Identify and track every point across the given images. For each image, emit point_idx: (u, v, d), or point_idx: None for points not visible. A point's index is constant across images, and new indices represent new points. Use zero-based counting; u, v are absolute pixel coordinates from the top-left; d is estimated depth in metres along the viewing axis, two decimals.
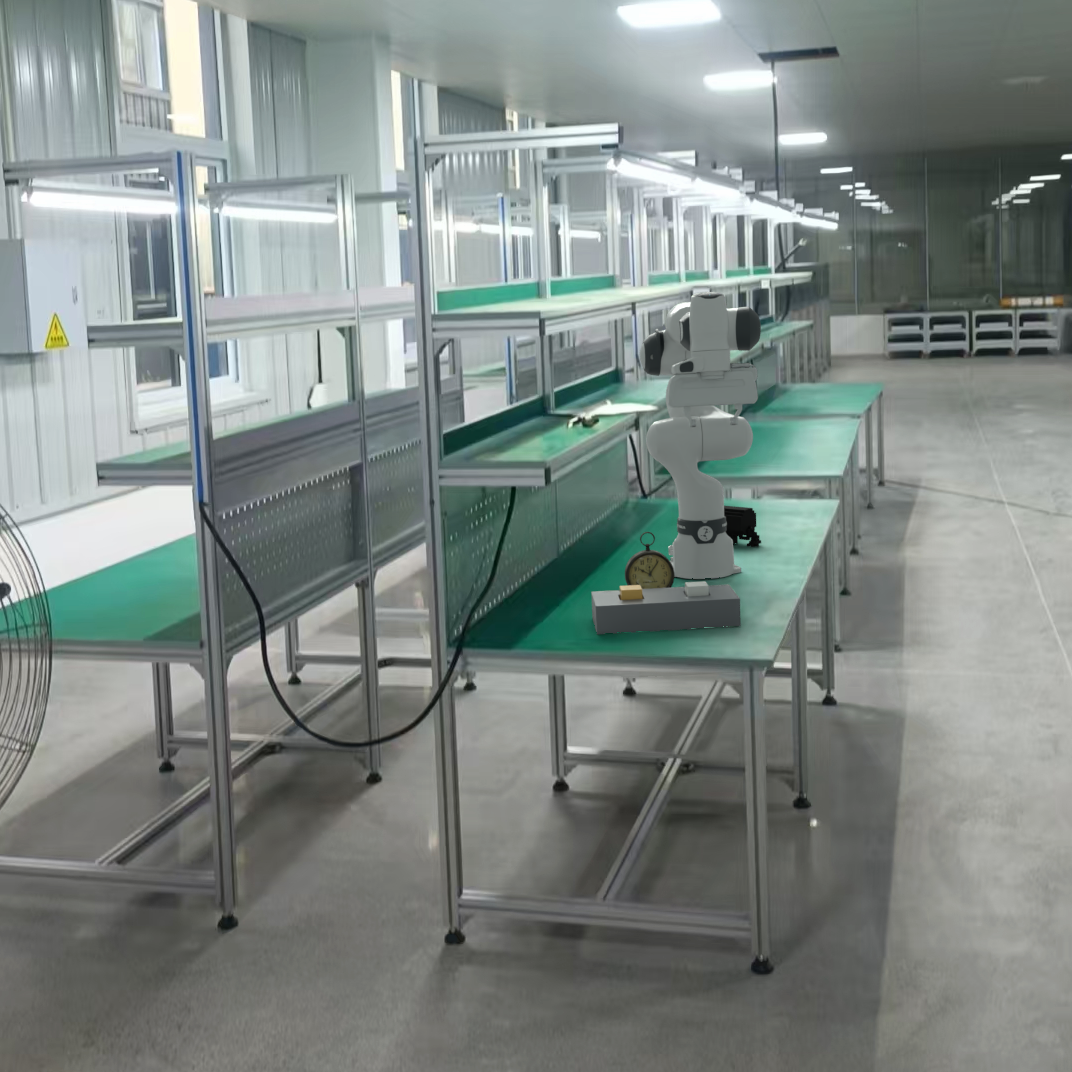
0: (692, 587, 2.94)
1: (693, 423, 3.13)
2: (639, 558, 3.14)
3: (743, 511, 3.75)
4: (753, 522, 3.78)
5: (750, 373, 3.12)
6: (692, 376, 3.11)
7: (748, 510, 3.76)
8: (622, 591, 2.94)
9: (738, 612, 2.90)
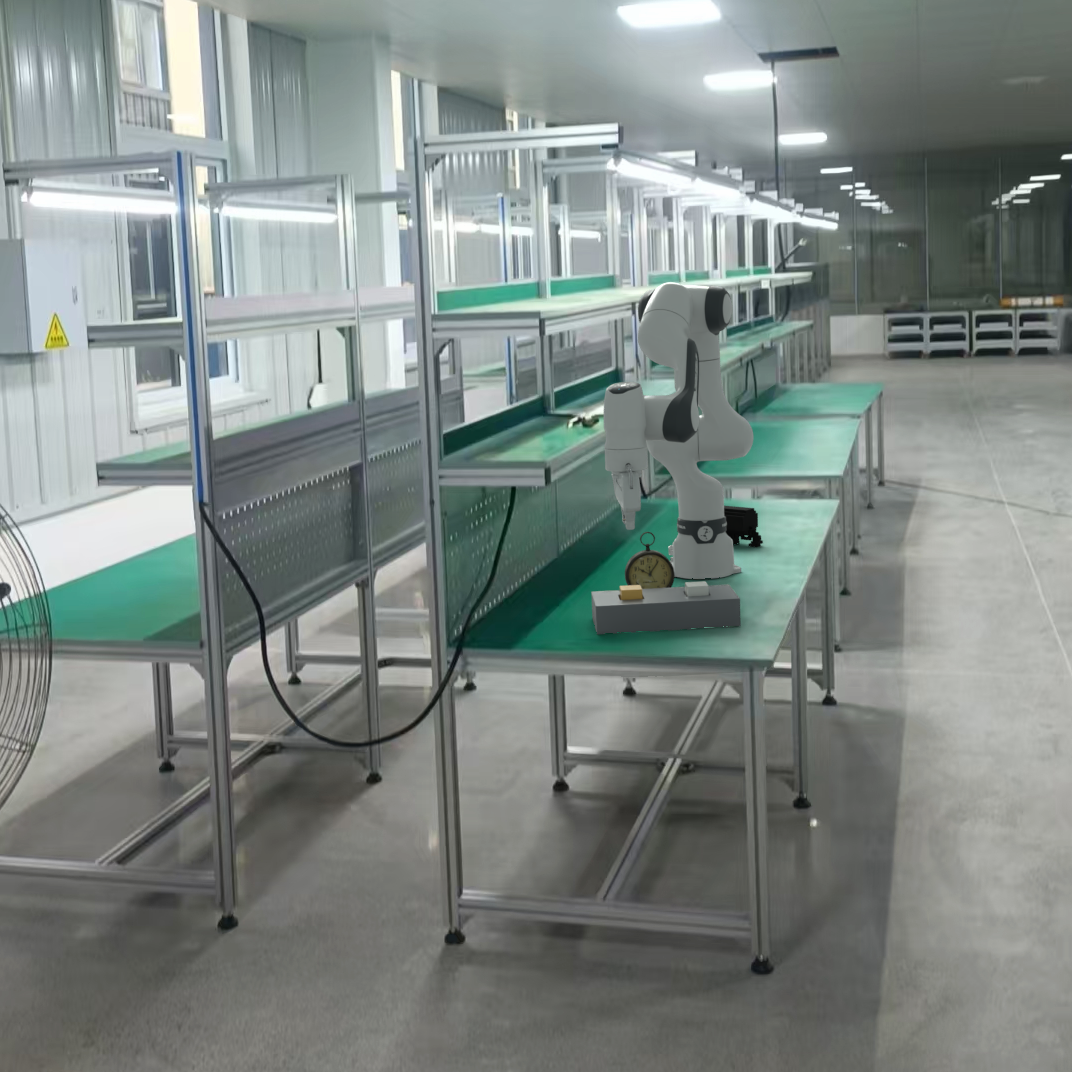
0: (692, 587, 2.94)
1: None
2: (639, 558, 3.14)
3: (745, 511, 3.74)
4: (754, 522, 3.78)
5: (622, 479, 2.83)
6: (611, 471, 2.96)
7: (750, 510, 3.75)
8: (622, 591, 2.94)
9: (738, 612, 2.90)
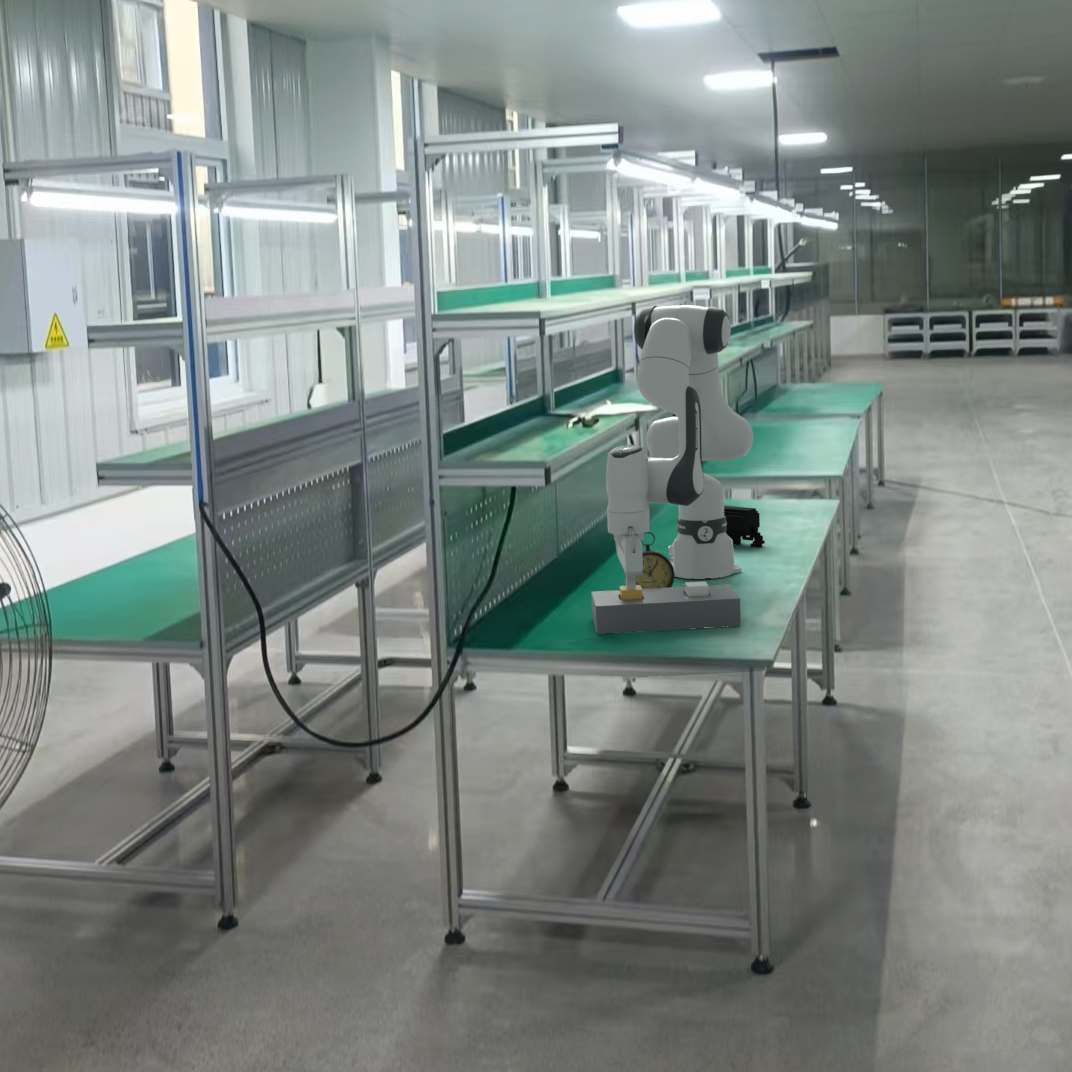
0: (692, 587, 2.94)
1: (626, 583, 2.96)
2: None
3: (746, 511, 3.74)
4: (756, 522, 3.77)
5: (624, 542, 2.86)
6: None
7: (751, 510, 3.75)
8: (622, 591, 2.94)
9: (738, 612, 2.90)
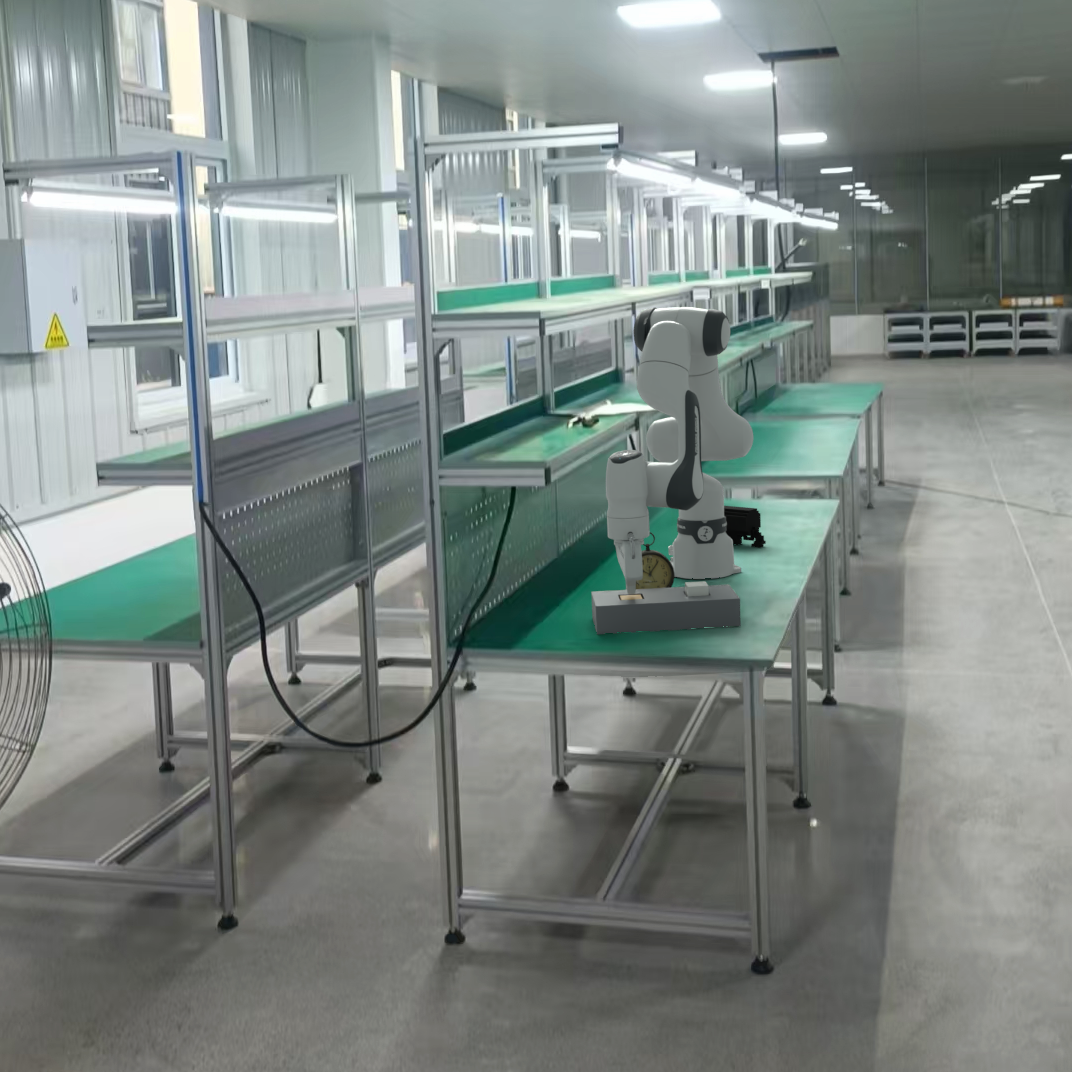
0: (692, 587, 2.94)
1: (626, 588, 2.97)
2: None
3: (747, 511, 3.74)
4: (757, 522, 3.77)
5: (624, 548, 2.86)
6: None
7: (752, 510, 3.75)
8: None
9: (738, 612, 2.90)
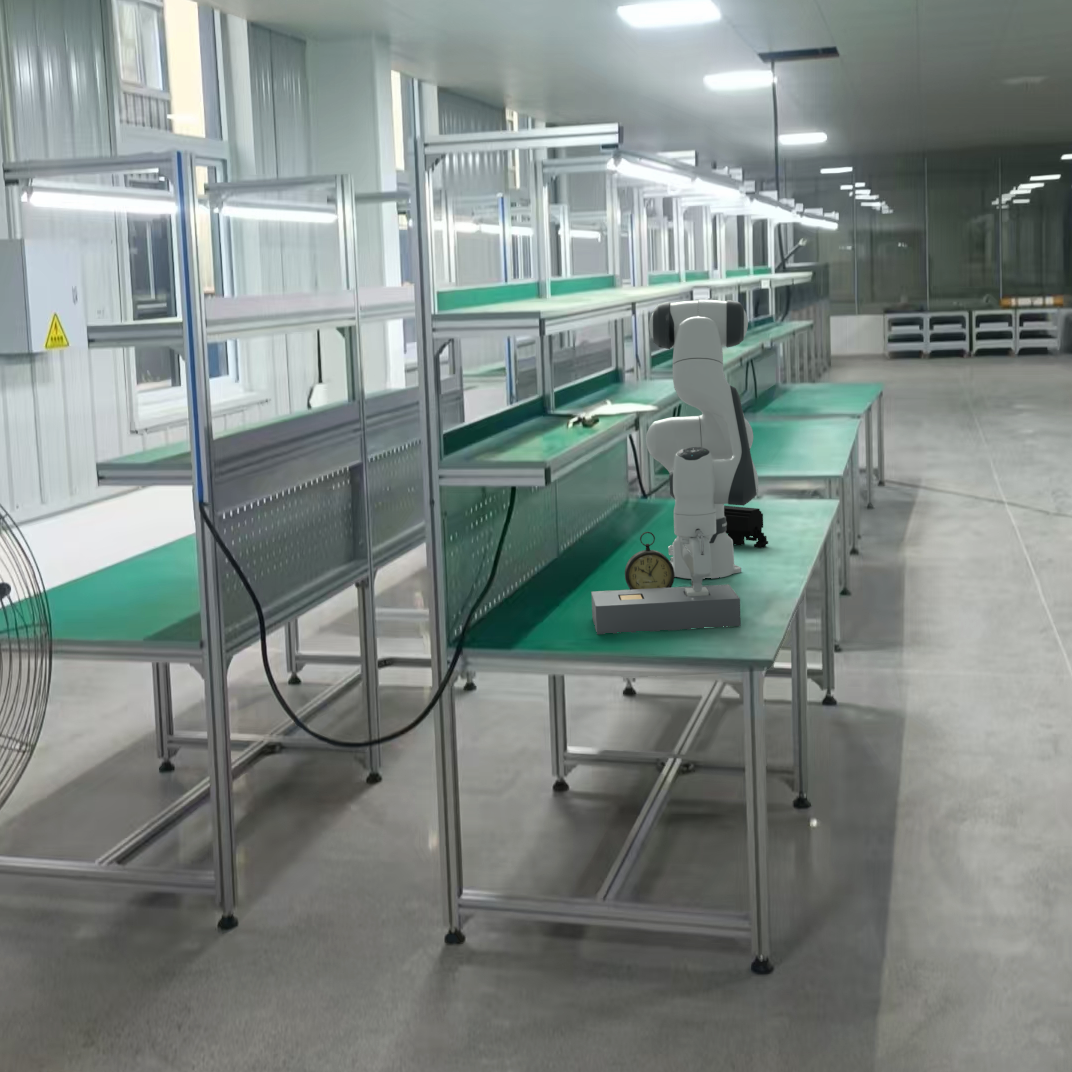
0: (692, 593, 2.94)
1: (692, 585, 2.97)
2: (639, 558, 3.14)
3: (750, 512, 3.73)
4: (760, 523, 3.76)
5: (693, 544, 2.86)
6: None
7: (755, 511, 3.74)
8: None
9: (738, 612, 2.90)
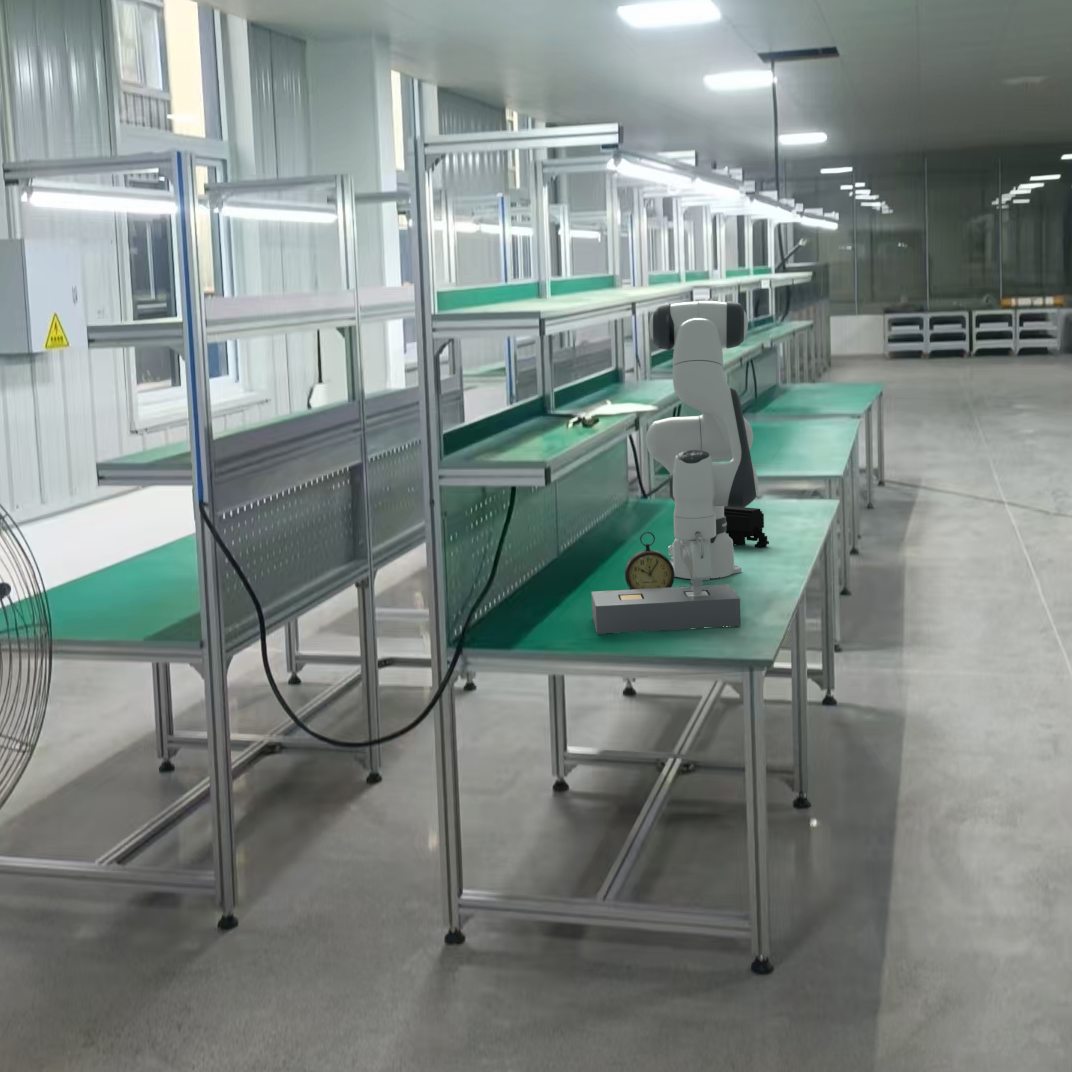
0: None
1: (692, 588, 2.97)
2: (639, 558, 3.14)
3: (751, 512, 3.73)
4: (760, 523, 3.76)
5: (692, 548, 2.86)
6: None
7: (756, 511, 3.74)
8: None
9: (738, 612, 2.90)
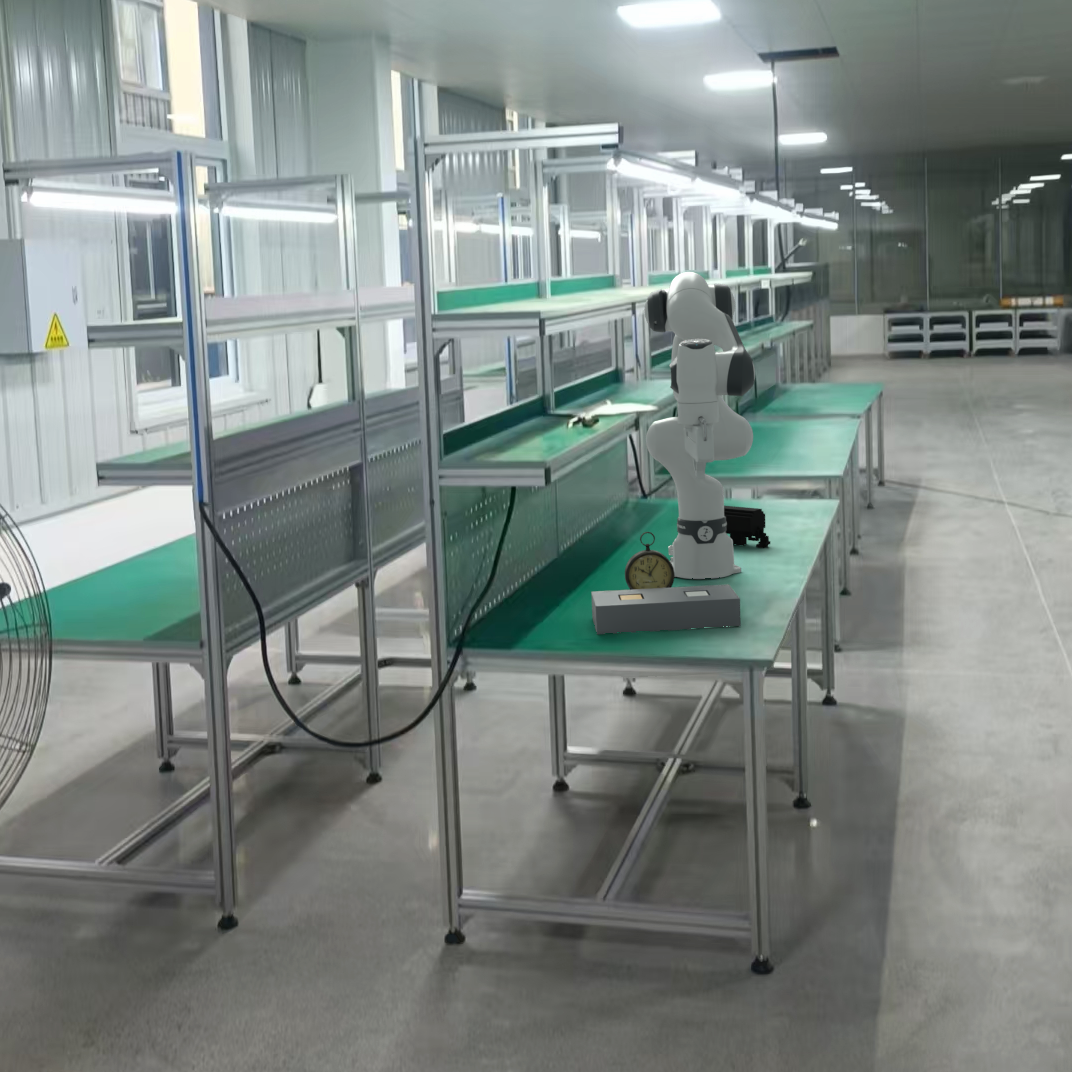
0: None
1: (695, 474, 3.05)
2: (639, 558, 3.14)
3: (752, 512, 3.73)
4: (762, 523, 3.76)
5: (696, 431, 2.94)
6: (682, 425, 3.07)
7: (757, 511, 3.74)
8: None
9: (738, 612, 2.90)
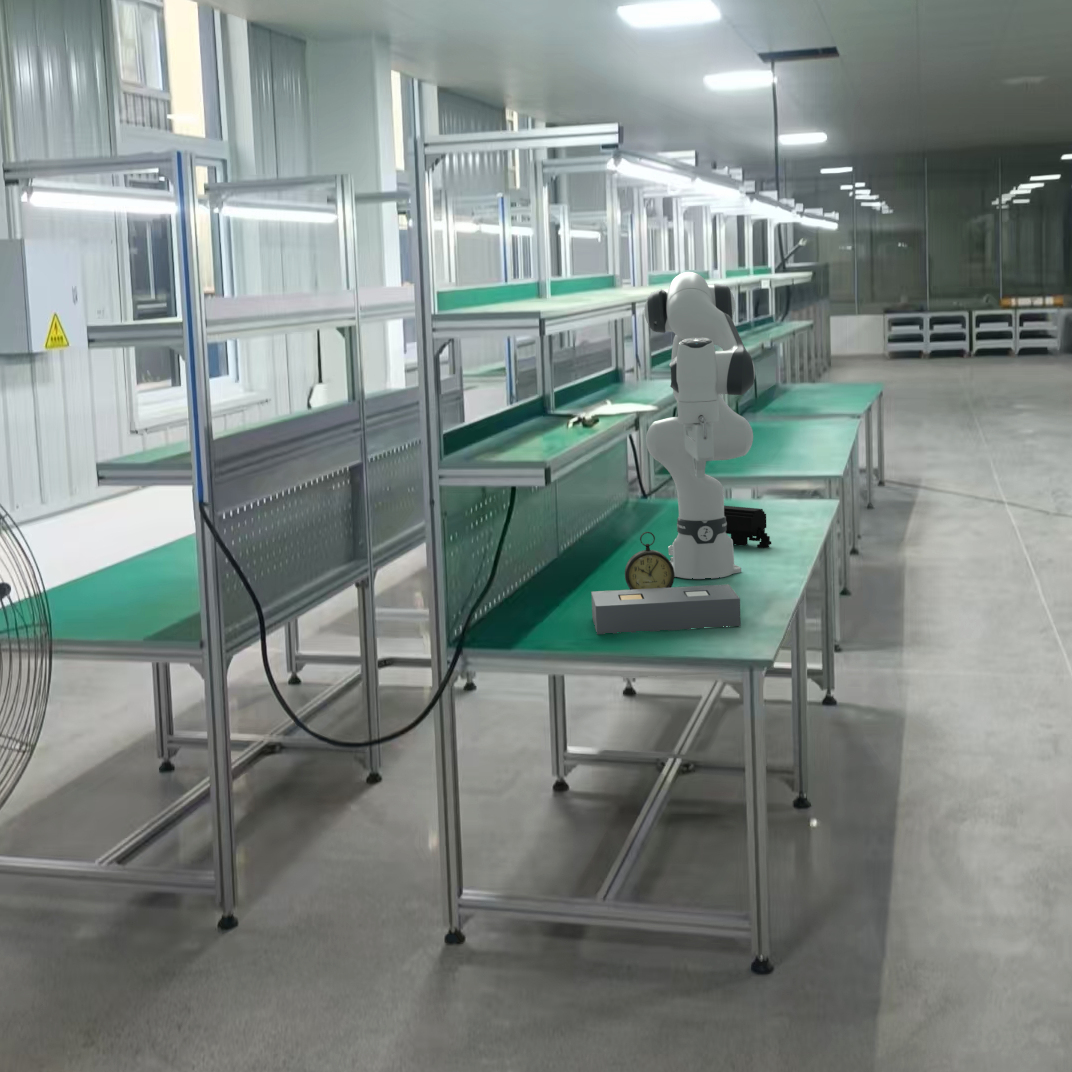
0: None
1: (695, 473, 3.05)
2: (639, 558, 3.14)
3: (753, 512, 3.72)
4: (763, 523, 3.76)
5: (696, 429, 2.94)
6: (682, 424, 3.07)
7: (758, 511, 3.74)
8: None
9: (738, 612, 2.90)
